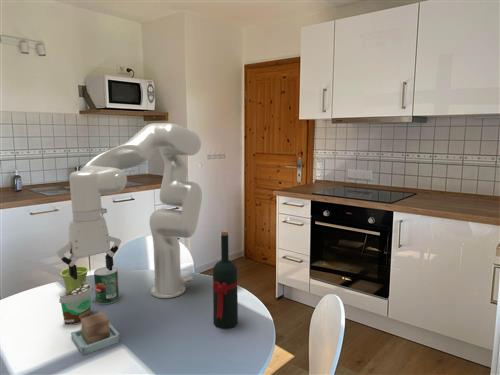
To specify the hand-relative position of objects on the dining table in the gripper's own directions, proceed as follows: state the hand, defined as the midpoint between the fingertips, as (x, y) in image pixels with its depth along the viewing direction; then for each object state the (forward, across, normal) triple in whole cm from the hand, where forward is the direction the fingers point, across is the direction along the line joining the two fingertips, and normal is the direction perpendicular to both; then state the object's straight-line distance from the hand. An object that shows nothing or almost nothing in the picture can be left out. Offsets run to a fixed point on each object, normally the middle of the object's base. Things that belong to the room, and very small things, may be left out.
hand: (92, 273), depth 109 cm
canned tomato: (+21, -11, -23) cm, 33 cm away
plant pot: (+21, -4, -36) cm, 42 cm away
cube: (+20, +1, +1) cm, 20 cm away
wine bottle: (+21, -33, +18) cm, 43 cm away
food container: (+21, 0, -16) cm, 26 cm away
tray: (+20, +1, 0) cm, 20 cm away
